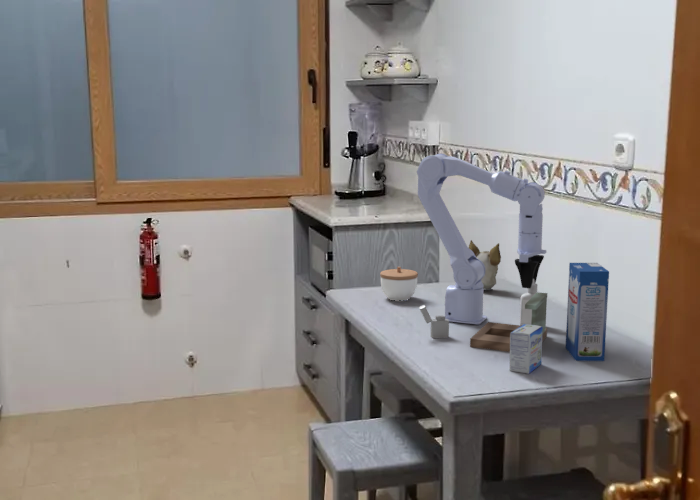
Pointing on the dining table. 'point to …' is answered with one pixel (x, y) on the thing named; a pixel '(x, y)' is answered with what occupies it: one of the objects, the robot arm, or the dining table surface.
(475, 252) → the ceramic sculpture
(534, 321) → the socket board
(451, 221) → the robot arm
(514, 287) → the dining table surface
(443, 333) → the lighter
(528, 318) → the eye dropper bottle
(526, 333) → the medicine box
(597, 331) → the milk carton
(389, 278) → the lidded jar
